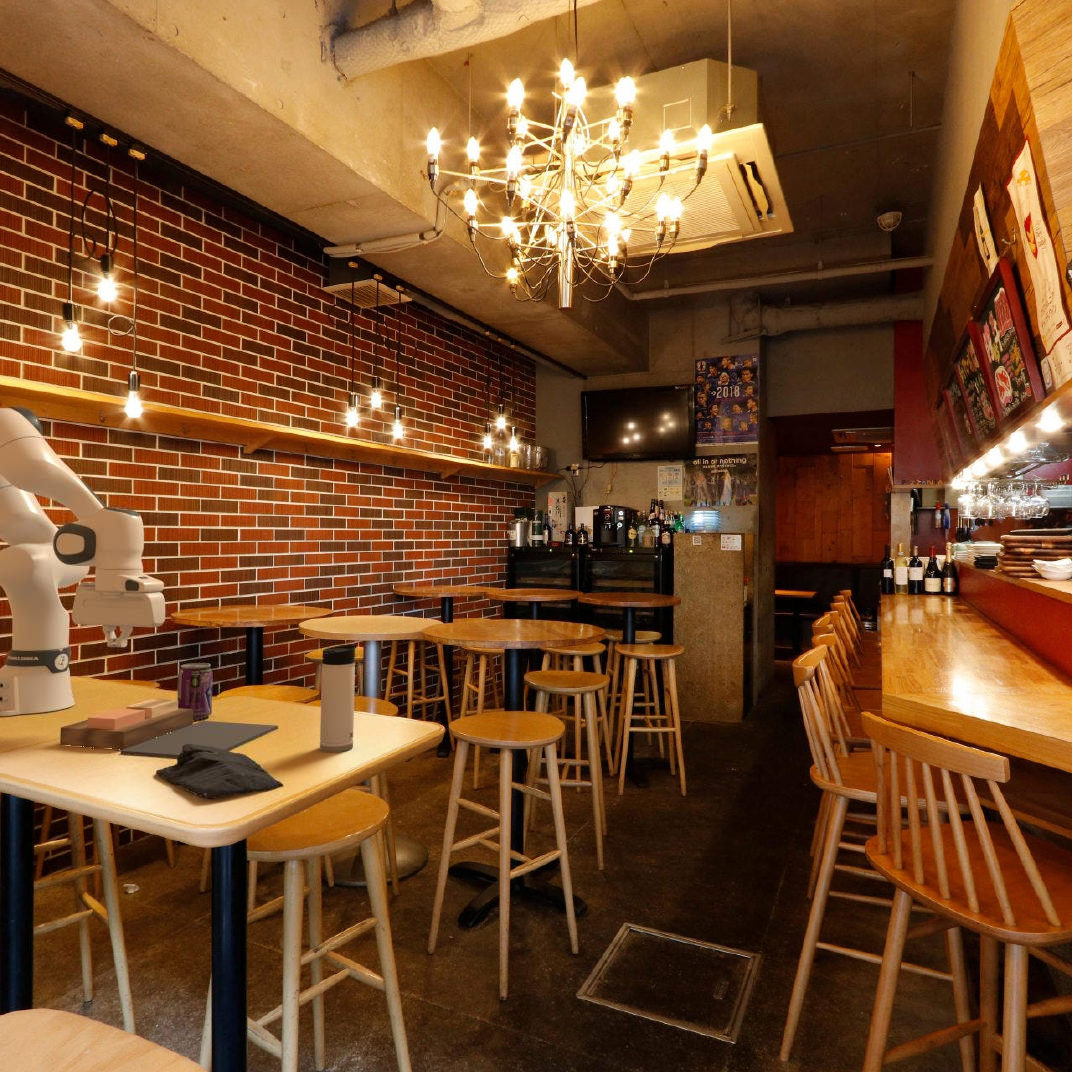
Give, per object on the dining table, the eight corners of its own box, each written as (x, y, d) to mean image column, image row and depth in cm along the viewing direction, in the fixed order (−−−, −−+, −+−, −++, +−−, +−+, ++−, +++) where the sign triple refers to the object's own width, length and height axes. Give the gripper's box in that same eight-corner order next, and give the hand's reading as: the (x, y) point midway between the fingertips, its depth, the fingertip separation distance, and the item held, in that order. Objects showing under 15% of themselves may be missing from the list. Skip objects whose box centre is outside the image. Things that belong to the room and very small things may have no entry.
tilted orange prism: (87, 727, 136) (87, 717, 136) (118, 718, 144) (119, 708, 144) (114, 729, 135) (114, 719, 135) (144, 720, 143) (144, 710, 143)
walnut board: (60, 745, 136) (60, 727, 136) (135, 721, 156) (136, 705, 156) (123, 750, 133) (124, 732, 134) (192, 725, 153) (193, 709, 153)
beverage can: (201, 722, 156) (203, 668, 156) (170, 721, 156) (172, 667, 157) (217, 714, 163) (218, 663, 163) (186, 714, 163) (188, 662, 164)
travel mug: (360, 748, 138) (363, 646, 138) (329, 754, 133) (332, 648, 134) (344, 741, 142) (346, 642, 143) (314, 747, 138) (316, 645, 138)
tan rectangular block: (125, 716, 146) (126, 706, 146) (153, 707, 154) (153, 698, 154) (151, 717, 145) (151, 708, 145) (177, 709, 153) (178, 700, 153)
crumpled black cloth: (189, 811, 105) (190, 779, 105) (152, 775, 121) (152, 747, 121) (290, 790, 115) (291, 760, 115) (243, 758, 131) (243, 733, 131)
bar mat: (120, 753, 131) (120, 750, 131) (202, 723, 155) (202, 720, 155) (207, 760, 128) (207, 757, 128) (278, 728, 152) (278, 725, 152)
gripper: (65, 581, 150) (63, 646, 150) (150, 584, 147) (148, 650, 146) (88, 580, 156) (86, 642, 156) (170, 583, 153) (168, 646, 153)
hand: (117, 646), depth 151 cm, fingers closed
